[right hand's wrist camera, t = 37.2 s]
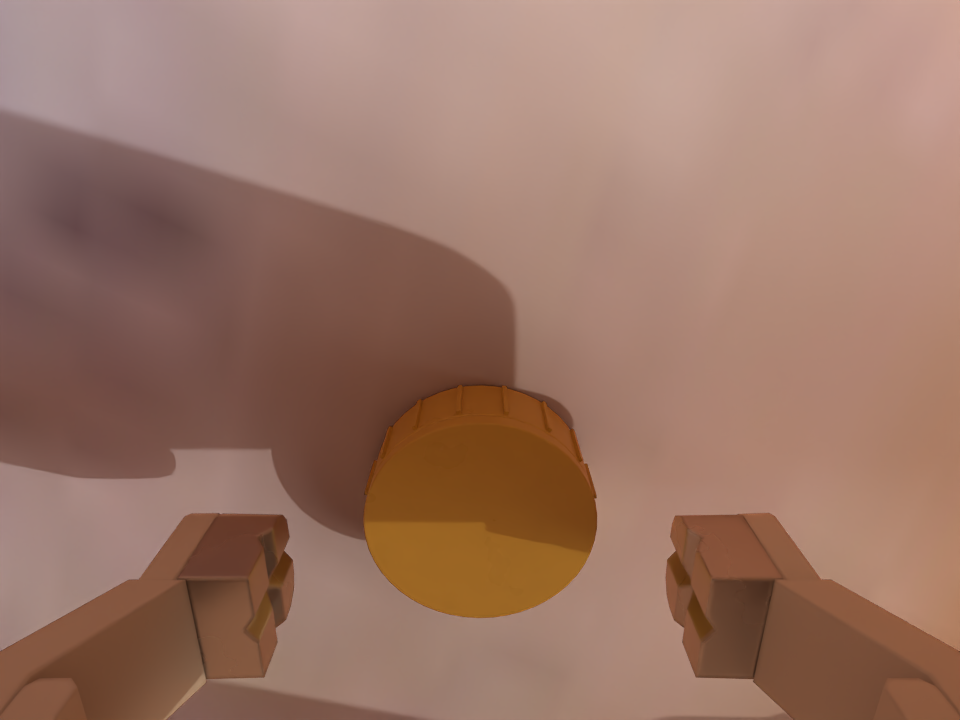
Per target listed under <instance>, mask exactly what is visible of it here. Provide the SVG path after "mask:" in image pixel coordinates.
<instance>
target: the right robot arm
mask: <svg viewBox="0 0 960 720" xmlns="http://www.w3.org/2000/svg"><path fill="white" fill-rule="evenodd" d="M289 537H290V536H289V530H288V524H287V519H286V518H285V517H284V516H283V515H271V514H224V513H223V514H219V513H192V514H189V515H187V516H185V517H184V518H183V519H182V521H181V522H180V523H179V525H178V526H177V527H176V529H175V530H174V532H173V533H172V534H171V536H170V537H169V538H168V540H167V541H166V543H165V544H164V545H163V547H162V548H161V550H160V551H159V552H158V554H157V555H156V556H155V558H154V559H153V561H152V562H151V563H150V565H149V566H148V567H147V569H146V570H145V572H144V573H143V574H142V576H141V577H140V578H139V580H127V581H126V582H124V583H122V584H120V585H118V586H117V587H115V588H113V589H111V590H109V591H108V592H106V593H104V594H102V595H100V596H99V597H97V598H95V599H93V600H91V601H90V602H88V603H86V604H84V605H82V606H81V607H79V608H77V609H75V610H74V611H72V612H70V613H68V614H66V615H65V616H63V617H61V618H59V619H57V620H56V621H54V622H52V623H50V624H48V625H47V626H45V627H43V628H41V629H39V630H38V631H36V632H34V633H32V634H30V635H29V636H27V637H25V638H23V639H22V640H20V641H18V642H16V643H14V644H13V645H11V646H9V647H7V648H5V649H4V650H2V651H0V720H166V719H167V718H169V717H170V716H171V715H172V714H173V713H174V712H175V711H176V710H177V709H178V708H179V707H180V706H181V705H183V704H184V703H185V702H186V701H187V700H188V699H189V698H190V697H191V696H192V695H193V694H194V693H195V692H197V691H198V690H199V689H200V688H201V687H202V686H203V685H204V684H205V683H206V679H223V678H258V677H264V676H265V674H266V671H267V669H268V666H269V663H270V661H271V658H272V656H273V653H274V650H275V648H276V645H277V642H278V641H277V634H276V627H278V626H279V625H280V624H281V623H283V622H284V621H285V620H286V618H287V616H288V613H289V610H290V607H291V603H292V597H293V591H294V567H293V560H292V559H291V558H290V557H289V556H288V554H287V553H286V552H285V551H284V549H285V547H286V544H287V542H288V540H289ZM670 537H671V540H672V542H673V544H674V547H675V549H676V551H675V552H674V553H673V554H672V555H671V556H670V558H669V559H668V560H667V568H666V592H667V598H668V603H669V607H670V610H671V613H672V616H673V619H674V620H675V621H676V622H677V623H678V624H680V625H681V626H682V627H684V634H683V641H682V643H683V645H684V648H685V650H686V653H687V656H688V658H689V661H690V663H691V666H692V669H693V671H694V674H695V676H696V677H700V678H736V679H754V680H753V682H754V683H755V684H756V685H757V686H758V687H759V688H761V689H762V690H763V691H764V692H765V693H766V694H767V695H768V696H769V697H770V698H771V699H772V700H773V701H774V702H776V703H777V704H778V705H779V706H780V707H781V708H782V709H783V710H784V711H785V712H786V713H787V714H788V715H789V716H791V717H792V718H793V719H794V720H960V651H958V650H956V649H954V648H952V647H951V646H949V645H947V644H945V643H943V642H942V641H940V640H938V639H936V638H934V637H933V636H931V635H929V634H927V633H926V632H924V631H922V630H920V629H918V628H917V627H915V626H913V625H911V624H909V623H908V622H906V621H904V620H902V619H901V618H899V617H897V616H895V615H893V614H892V613H890V612H888V611H886V610H884V609H883V608H881V607H879V606H877V605H876V604H874V603H872V602H870V601H868V600H867V599H865V598H863V597H861V596H859V595H858V594H856V593H854V592H852V591H850V590H849V589H847V588H845V587H843V586H842V585H840V584H838V583H836V582H834V581H833V580H821V579H820V577H819V576H818V574H817V573H816V572H815V570H814V569H813V568H812V566H811V565H810V564H809V562H808V561H807V559H806V558H805V557H804V555H803V554H802V553H801V551H800V550H799V548H798V547H797V546H796V544H795V543H794V542H793V540H792V539H791V538H790V536H789V535H788V533H787V532H786V531H785V529H784V528H783V527H782V525H781V524H780V522H779V521H778V520H777V518H776V517H775V516H773V515H772V514H770V513H752V514H737V515H677V516H675V518H674V520H673V523H672V529H671V535H670Z"/></svg>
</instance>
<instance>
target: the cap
mask: <svg viewBox="0 0 960 720" xmlns="http://www.w3.org/2000/svg"><path fill="white" fill-rule="evenodd" d="M364 495H367V497H366V501H365V507H364V520H363V525H364V532H365V538H366V541H367V545H368V548H369V551H370V553H371V555H372V557H373V559H374V561H375V563H376V565H377V566H378V568H379V569H380V571H381V572H382V573H383V575H384V576H385V577H386V578H387V579H388V580H389V582H390V583H391V584H393V585H394V586H395V587H396V588H397V589H398V590H399V591H400V592H402V593H403V594H405V595H406V596H408V597H409V598H411V599H412V600H414V601H416V602H418V603H420V604H421V605H423V606H426V607H428V608H431V609H433V610H436V611H439V612H443V613H446V614H450V615H455V616H461V617H472V618H490V617H499V616H506V615H510V614H514V613H518V612H522V611H525V610H527V609H530V608H533V607H535V606H537V605H539V604H541V603H543V602H545V601H547V600H548V599H550V598H551V597H553V596H554V595H556V594H558V593H559V592H560V591H561V590H562V589H564V588H565V587H566V586H567V585H568V584H569V583H570V582H571V581H572V580H573V579H574V578H575V577H576V576H577V574H578V573H579V571H580V570H581V569H582V567H583V566H584V564H585V562H586V560H587V558H588V556H589V554H590V552H591V549H592V546H593V543H594V541H595V535H596V530H597V511H596V503H595V499H594V498H597V496H596V492H595V489H594V485H593V482H592V478H591V475H590V472H589V468H588V465H587V464H584V461H583V458H582V454H581V451H580V448H579V444H578V441H577V437H576V434H575V431H574V430H573V429H571V430H570V429H569V428H568V426H567V425H566V424H565V423H564V421H563V420H562V419H561V418H560V417H559V416H558V415H557V414H556V413H555V412H553V411H552V410H551V409H550V408H549V407H547V403H546V402H544V401H543V402H542V403H541V402H540V401H538V400H536V399H534V398H532V397H530V396H528V395H526V394H523V393H520V392H517V391H514V390H511V389H507V386H503V385H502V387H497V386H484V385H479V386H465V387H463V386H462V385H458V388H453V389H450V390H446V391H443V392H440V393H437V394H435V395H433V396H430V397H428V398H426V399H424V400H423V401H422V400H421V399H420V400H418V401H417V404H416V405H415V406H413V407H412V408H411V409H409V410H408V411H407V412H406V413H404V415H403V416H402V417H401V418H400V419H399V420H398V421H397V422H396V423H395V424H394V426H393V427H391V426H389V427H388V429H387V433H386V436H385V440H384V442H383V444H382V447H381V450H380V453H379V455H378V459H377V461H376V460H374V462H373V465H372V469H371V472H370V475H369V479H368V482H367V486H366V489H365V493H364Z"/></svg>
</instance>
